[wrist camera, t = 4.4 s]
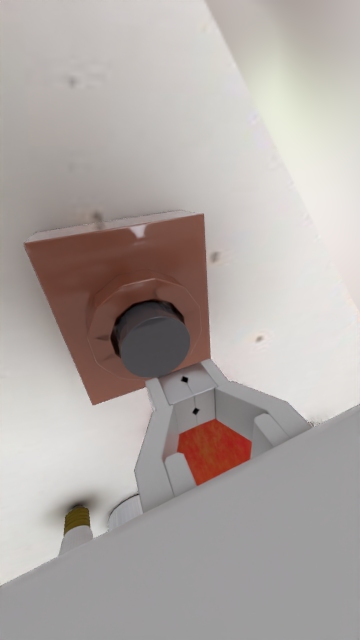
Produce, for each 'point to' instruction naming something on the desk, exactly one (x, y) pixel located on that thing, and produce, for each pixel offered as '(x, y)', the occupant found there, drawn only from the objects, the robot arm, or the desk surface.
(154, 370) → the grey push button
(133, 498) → the ramekin
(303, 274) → the desk surface
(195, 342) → the brown button mount
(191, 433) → the apple
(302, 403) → the desk surface
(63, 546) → the light bulb
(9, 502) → the desk surface
